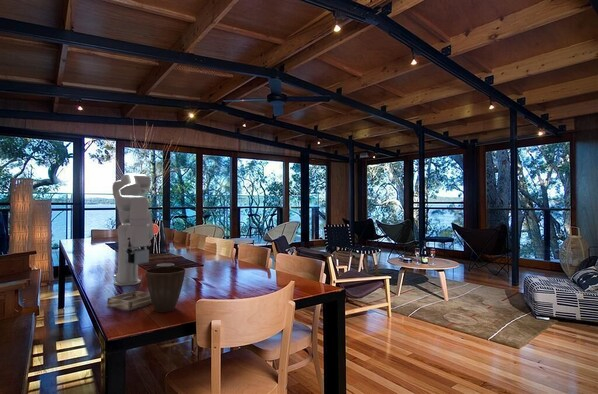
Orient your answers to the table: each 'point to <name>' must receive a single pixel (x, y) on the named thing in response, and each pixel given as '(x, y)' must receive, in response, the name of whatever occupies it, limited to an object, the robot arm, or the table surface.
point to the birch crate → (129, 301)
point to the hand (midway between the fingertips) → (137, 261)
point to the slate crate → (139, 256)
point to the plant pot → (165, 286)
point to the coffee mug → (164, 265)
